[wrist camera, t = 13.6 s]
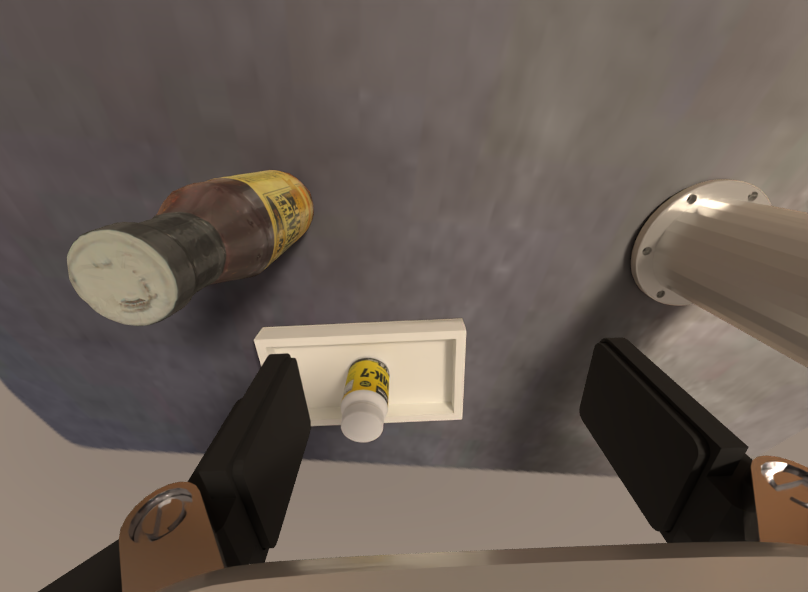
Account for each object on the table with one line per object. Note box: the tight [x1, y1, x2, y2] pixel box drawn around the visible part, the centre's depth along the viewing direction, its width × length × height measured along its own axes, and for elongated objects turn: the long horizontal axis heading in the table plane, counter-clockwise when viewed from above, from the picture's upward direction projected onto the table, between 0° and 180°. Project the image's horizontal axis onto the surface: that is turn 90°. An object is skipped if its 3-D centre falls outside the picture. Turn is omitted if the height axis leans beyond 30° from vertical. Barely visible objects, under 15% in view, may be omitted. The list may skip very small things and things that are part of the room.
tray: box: [254, 318, 466, 426], centre depth 38 cm, size 22×12×2 cm, turn 92°
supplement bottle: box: [341, 356, 390, 442], centre depth 35 cm, size 5×5×8 cm
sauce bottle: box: [67, 170, 314, 326], centre depth 22 cm, size 7×6×20 cm
